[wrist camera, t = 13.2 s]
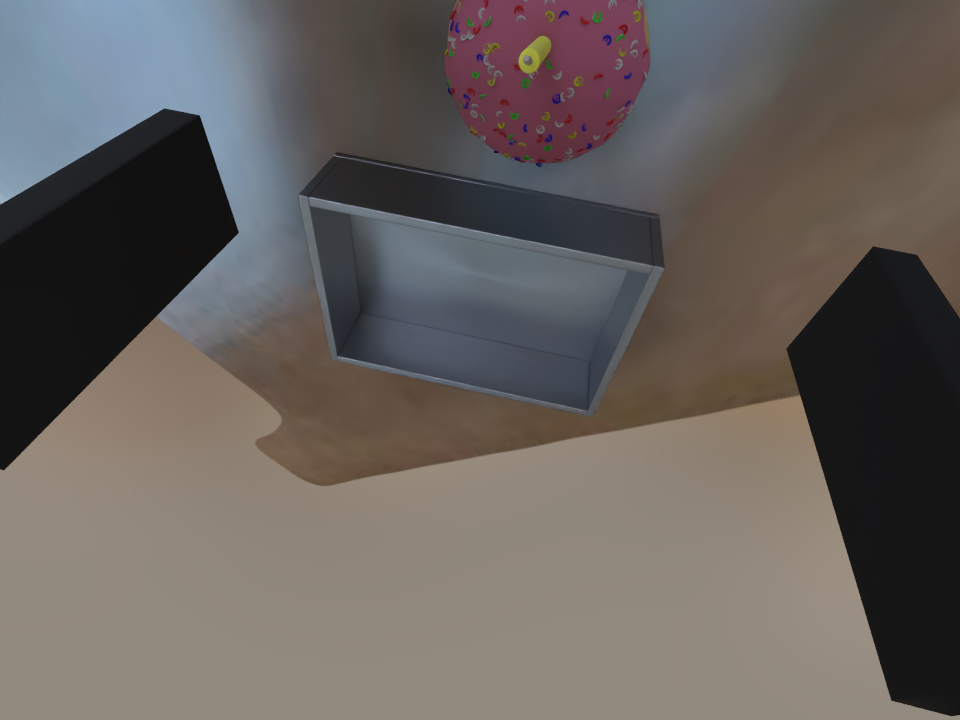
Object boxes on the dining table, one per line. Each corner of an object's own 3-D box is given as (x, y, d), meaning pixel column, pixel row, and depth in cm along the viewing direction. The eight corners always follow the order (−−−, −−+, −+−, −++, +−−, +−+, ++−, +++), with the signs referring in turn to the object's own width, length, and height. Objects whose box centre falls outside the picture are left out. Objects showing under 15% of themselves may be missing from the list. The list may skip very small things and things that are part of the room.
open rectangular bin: (659, 214, 29) (665, 268, 25) (595, 364, 39) (593, 417, 35) (336, 152, 30) (297, 194, 26) (356, 313, 40) (330, 360, 36)
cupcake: (467, -92, 20) (369, -48, 12) (672, -86, 19) (709, -34, 11) (469, 118, 27) (405, 237, 19) (623, 132, 26) (626, 263, 18)
